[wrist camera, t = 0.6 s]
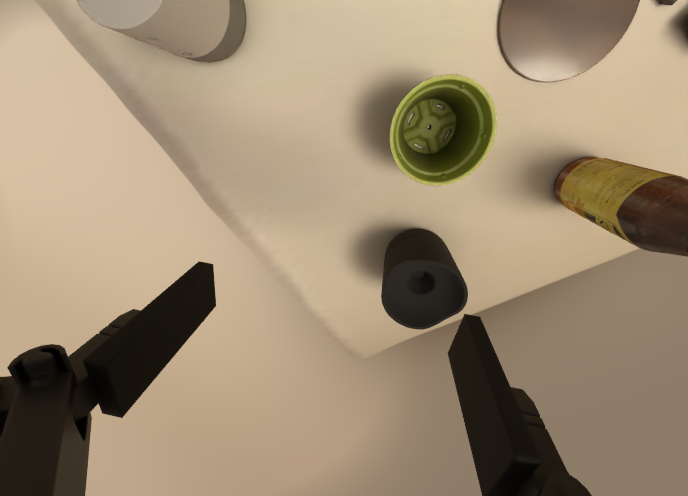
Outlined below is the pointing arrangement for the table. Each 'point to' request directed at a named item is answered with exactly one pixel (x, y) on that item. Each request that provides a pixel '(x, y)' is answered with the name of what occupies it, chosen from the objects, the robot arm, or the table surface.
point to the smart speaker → (176, 24)
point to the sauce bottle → (629, 202)
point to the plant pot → (443, 130)
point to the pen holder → (421, 280)
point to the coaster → (561, 35)
